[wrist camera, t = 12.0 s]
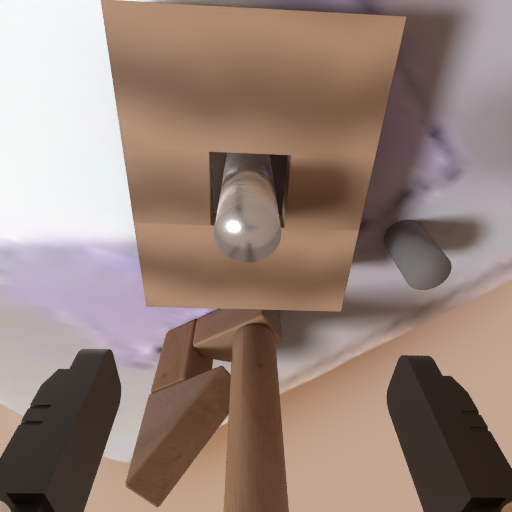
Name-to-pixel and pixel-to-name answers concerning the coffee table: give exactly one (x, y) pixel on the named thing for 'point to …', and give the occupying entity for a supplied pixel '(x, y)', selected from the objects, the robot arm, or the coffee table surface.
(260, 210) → the long pin
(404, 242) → the short pin
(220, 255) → the brown block with hole
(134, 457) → the brown angled frame
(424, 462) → the robot arm
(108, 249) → the coffee table surface
